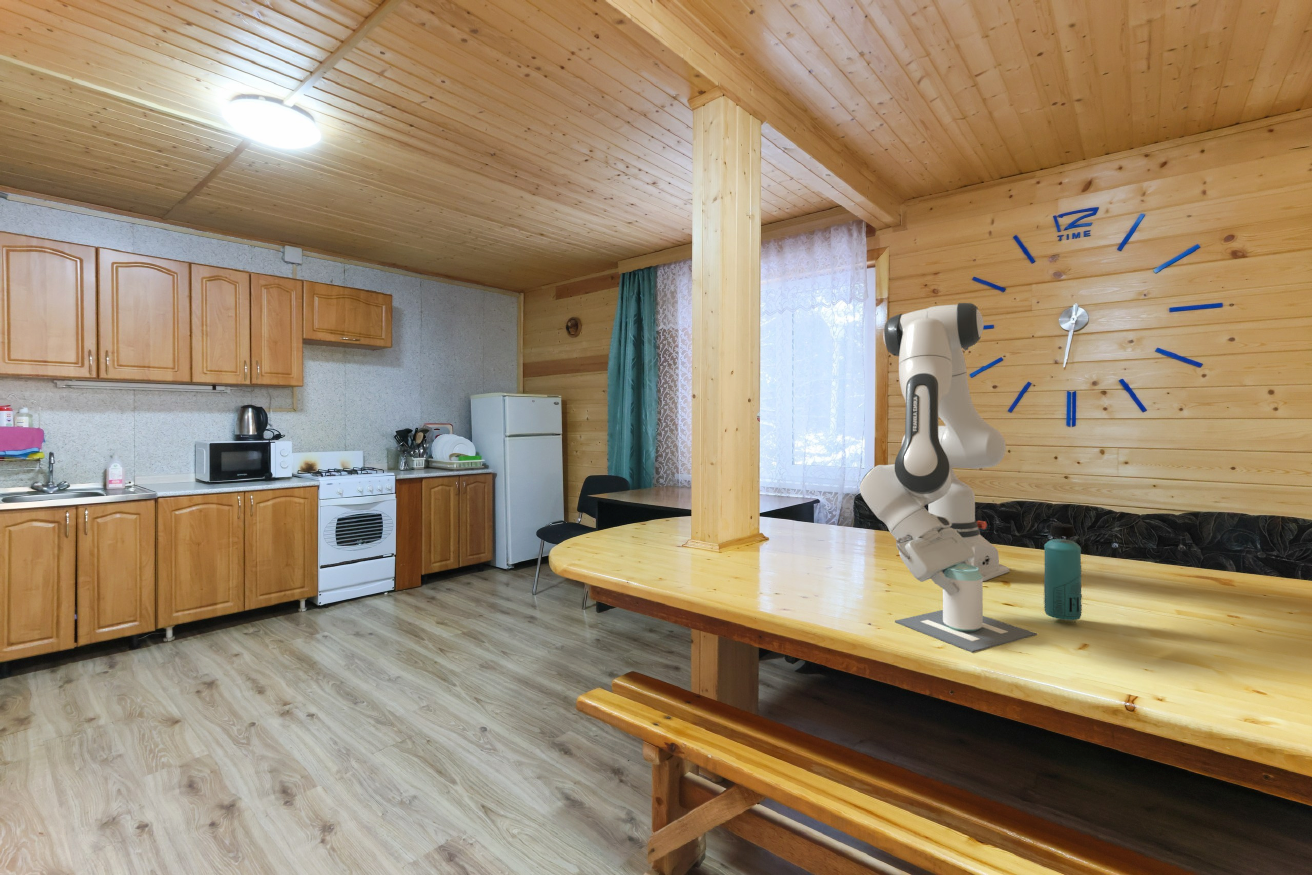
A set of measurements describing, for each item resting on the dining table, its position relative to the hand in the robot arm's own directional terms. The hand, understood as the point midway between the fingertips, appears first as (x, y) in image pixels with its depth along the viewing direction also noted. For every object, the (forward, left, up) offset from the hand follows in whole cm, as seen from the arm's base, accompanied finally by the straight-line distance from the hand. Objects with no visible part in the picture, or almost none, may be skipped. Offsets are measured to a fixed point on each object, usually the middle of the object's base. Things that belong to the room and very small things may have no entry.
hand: (966, 588), depth 120 cm
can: (0, -1, -8) cm, 8 cm away
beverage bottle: (-20, +6, -8) cm, 22 cm away
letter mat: (0, -1, -8) cm, 8 cm away
